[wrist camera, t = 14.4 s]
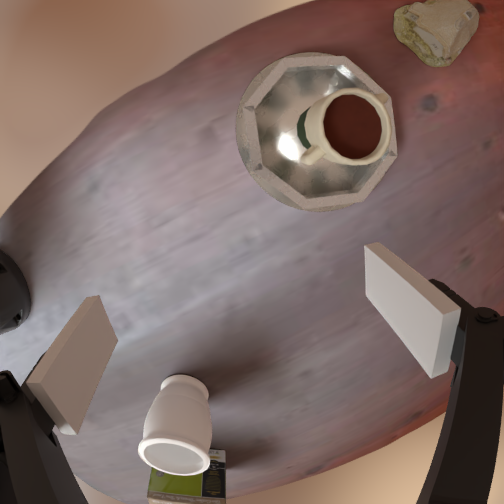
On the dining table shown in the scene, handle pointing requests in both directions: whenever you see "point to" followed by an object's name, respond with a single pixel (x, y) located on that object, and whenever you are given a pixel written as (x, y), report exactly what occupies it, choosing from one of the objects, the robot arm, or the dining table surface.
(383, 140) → the character mug
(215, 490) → the tea box
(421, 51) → the ceramic model
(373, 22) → the dining table surface
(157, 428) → the jar
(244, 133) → the octagonal bowl
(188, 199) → the dining table surface
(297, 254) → the dining table surface
